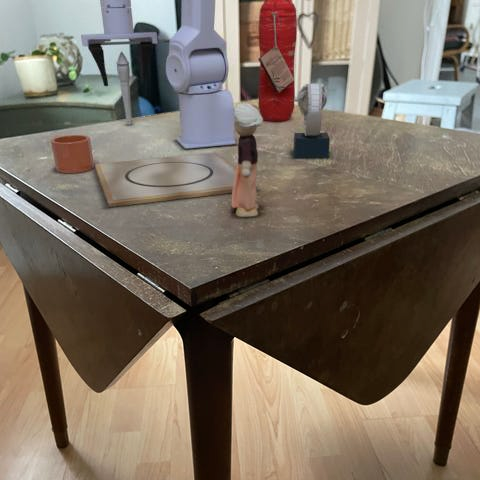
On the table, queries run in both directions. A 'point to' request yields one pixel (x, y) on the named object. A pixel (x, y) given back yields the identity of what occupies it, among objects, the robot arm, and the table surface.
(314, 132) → the watch
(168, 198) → the sketch board
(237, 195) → the grandmother figurine
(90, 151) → the pen pot
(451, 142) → the table surface
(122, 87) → the pen
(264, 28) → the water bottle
